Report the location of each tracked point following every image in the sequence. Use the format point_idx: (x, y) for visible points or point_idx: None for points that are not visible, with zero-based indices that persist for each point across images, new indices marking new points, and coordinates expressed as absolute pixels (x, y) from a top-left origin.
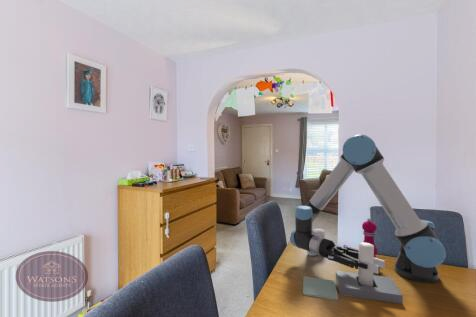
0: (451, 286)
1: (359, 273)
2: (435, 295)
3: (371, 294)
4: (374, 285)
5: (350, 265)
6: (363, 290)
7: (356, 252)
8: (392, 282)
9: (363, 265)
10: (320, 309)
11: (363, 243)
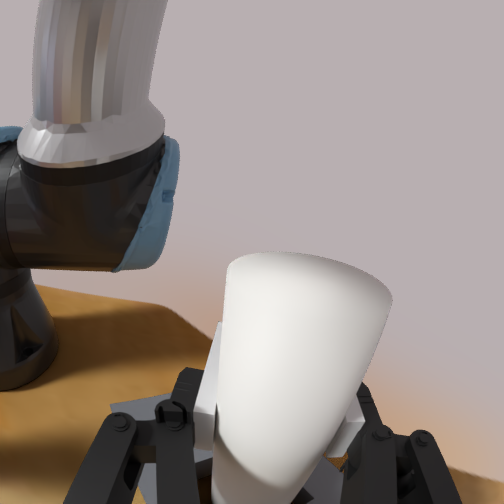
0: (61, 308)
1: (301, 487)
2: (123, 337)
3: None
4: (203, 470)
5: (411, 469)
6: (336, 470)
7: (183, 500)
8: (159, 401)
9: (368, 399)
10: (498, 492)
11: (291, 295)
